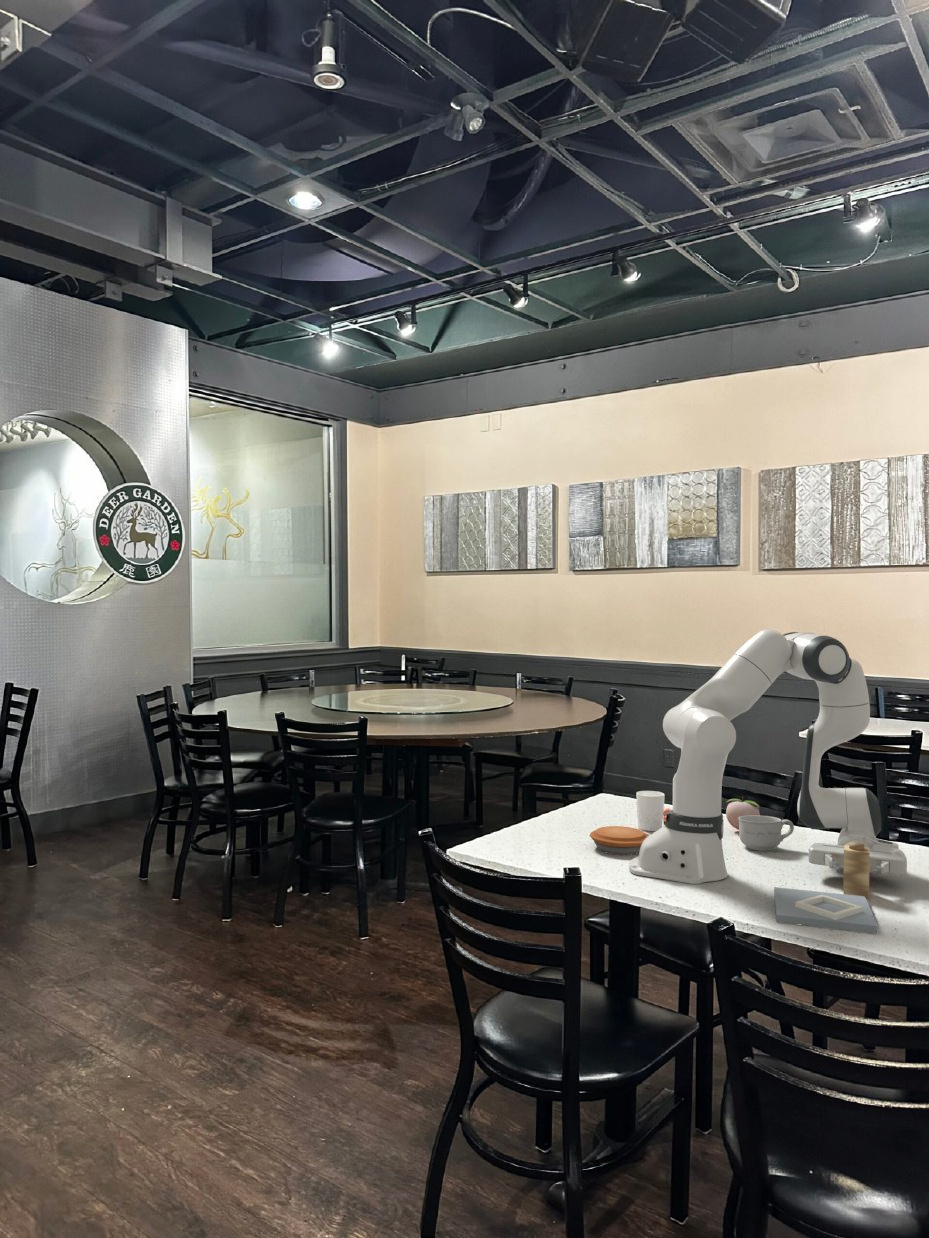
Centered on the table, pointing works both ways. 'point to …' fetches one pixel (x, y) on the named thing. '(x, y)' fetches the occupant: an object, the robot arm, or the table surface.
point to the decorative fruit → (740, 810)
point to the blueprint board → (795, 915)
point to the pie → (618, 839)
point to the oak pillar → (856, 869)
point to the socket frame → (808, 903)
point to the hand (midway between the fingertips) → (856, 867)
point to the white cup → (650, 810)
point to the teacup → (762, 831)
